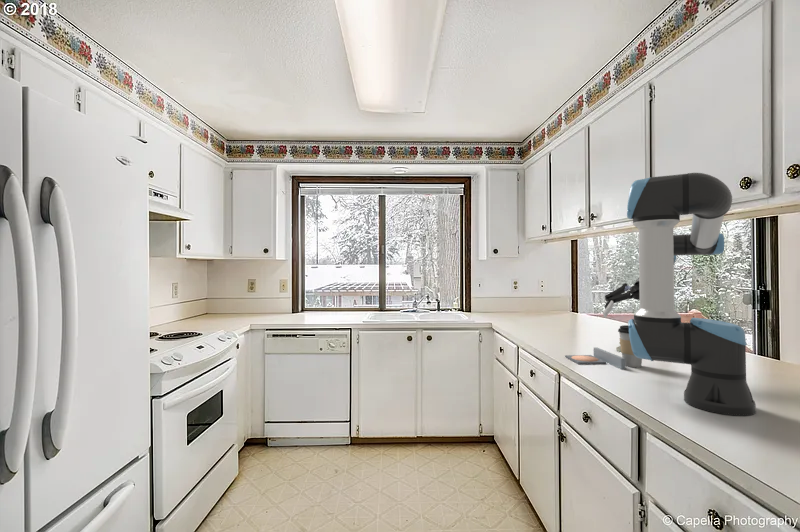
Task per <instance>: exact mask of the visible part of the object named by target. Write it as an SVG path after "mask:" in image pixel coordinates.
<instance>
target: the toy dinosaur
mask: <svg viewBox="0 0 800 532" xmlns="http://www.w3.org/2000/svg"><path fill="white" fill-rule="evenodd" d="M618 344H620V341H619V343H618ZM615 349H616V352H618V351H619V352H618V353H620V352H621V346H620V345H618V346H616V348H615Z"/></svg>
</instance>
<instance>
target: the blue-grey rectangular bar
mask: <svg viewBox="0 0 800 532" xmlns="http://www.w3.org/2000/svg"><path fill="white" fill-rule="evenodd" d="M593 356H594V357H596V358H598V359H601V360H603V361H605V362H607V363H606V364H608V363H609V364H608V365H610V366H613V367H615V368H617V369H619V368H620V370H626V366H625V358H623V357H622V356H620V355H617V354H615V353H612V352H610V351H607V350H604V349H602V348H600V347H593Z"/></svg>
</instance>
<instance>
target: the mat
mask: <svg viewBox="0 0 800 532" xmlns="http://www.w3.org/2000/svg"><path fill="white" fill-rule="evenodd" d="M565 357H566V359H567V358H568V359H567V360H569V359H570V361H572V362H573V363H575V364H576V365H607V363H606V362H605V361H603V360H601V359H598V358H596V357H594V355H592V354H577V355H575V354H573V355H571V354H569V355H567V354H566V355H564V358H565Z"/></svg>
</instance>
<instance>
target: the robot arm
mask: <svg viewBox="0 0 800 532" xmlns="http://www.w3.org/2000/svg"><path fill="white" fill-rule="evenodd" d="M732 202H733V195H732V192H731V190H730V188H729V187H728V185H726V184H725V183H724V182H723V181H722V180H721V179H719V178H717V177H715V176H712V175H710V174H708V173H703V172H689V173H688V172H687V173H682V174H681V173H680V174H671V175H661V176H652V177H647V178H641V179H637V180H635V181H633V182H632V183H631V186H630V189H629V193H628V199H627V210H626V217H627V219H629V220H632V225H633V226H634V227H635V228H637V229H638V271H639V272H638V278H637V279H636V280H635V282H634V284H633V285H631V286H630V285H628V283H626V282H625V283H623V284H622V285H621V286H620V287H618V288H617V289H615V290H613V291H611V292H609V293H607V294H606V295H604V300H605V301H606V303H605V305H604V310H603V312H602V315H603V318H605V319H606V318H607V317H608V316H609V313H610V312H611V311H612V309H613V308H614V306H615V304H616V303H620V302H622V301H625V300H631V299H634V300H638V301H639V308H638V309H637V310H636V311H635V312H634V313H633V318H631V319H629V320H627V321H628V322H627V325H628V326H629V337H630V343H631V347H632V351H633V354H634V355H635V356H636V357H637V358H640V359H642V360H646V361H647V360H648V361H650V362H654V361H656V362H663V363H673V364H674V363H676V364H681V365H682V364H684V365H685V364H686V365H690V366H691V368H690V370H691V372H690V376H689V379H688V382H687V385H686V387H685V389H684V391H683V401H684V402H685V403H686V404H688V405H690V406H691V407H694V408H697V409H700V410H702V411H703V410H704V411H707V412H711V413H716V414H721V415H729V416H752V415H755V413H756V412H757V411H756V409H757V408H756V407H757V405H756V402H755V400H754V399H753V395H752V393H751V389H750V387H749V385H748V383H747V361H746V358H747V356H746V355H747V352H746V350H747V349H746V348H747V347H746V346H747V345H748V344H747V340H746V331H745V329H744V328H743V327H742V326H740V325H738V324H735V323H732V322H728V321H727V322H726V321H723V320H717V319H711V318H704V317H702V318H700V317H691V319H690V320H689V322H682V316H681V314H679V312H677V311H676V310H675V268H674V267H675V263H676V261H677V258H678V257H677V256H713V255H721V254H723V253H724V251H725V235H724V234H723V233H721V228H722V225H723V220H724V215H726V214H727V213H728V212H729V211H730V210H731V207H732V204H733V203H732ZM684 215H685V216H687V215H692V217H691V218H692V219H691V229H690V234H687V233H686V234H674V228H675V226H677V225H678V224H679V223H680V217H681V216H684Z"/></svg>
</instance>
